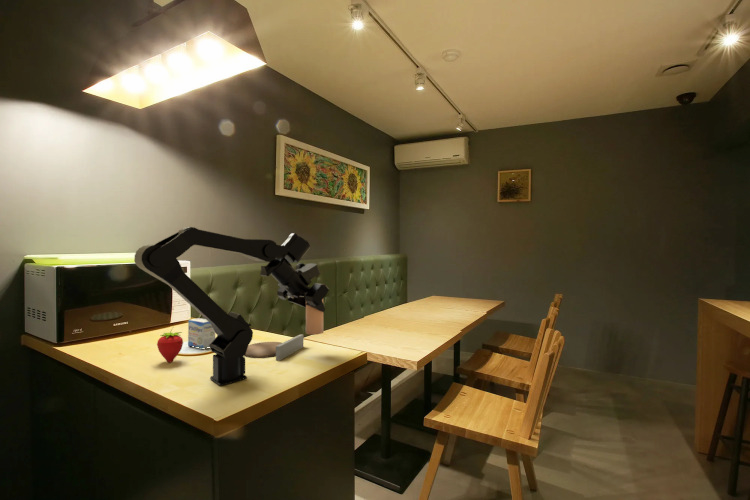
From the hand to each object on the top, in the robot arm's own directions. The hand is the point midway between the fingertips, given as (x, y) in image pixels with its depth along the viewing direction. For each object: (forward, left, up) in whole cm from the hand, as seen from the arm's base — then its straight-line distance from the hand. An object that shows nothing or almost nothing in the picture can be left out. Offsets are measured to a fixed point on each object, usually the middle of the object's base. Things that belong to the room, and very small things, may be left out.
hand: (318, 309), depth 105 cm
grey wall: (-5, +7, -13) cm, 16 cm away
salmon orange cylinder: (-1, 0, -7) cm, 7 cm away
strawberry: (-33, +24, -14) cm, 43 cm away
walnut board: (-9, +15, -13) cm, 22 cm away
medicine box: (-21, +34, -14) cm, 42 cm away
